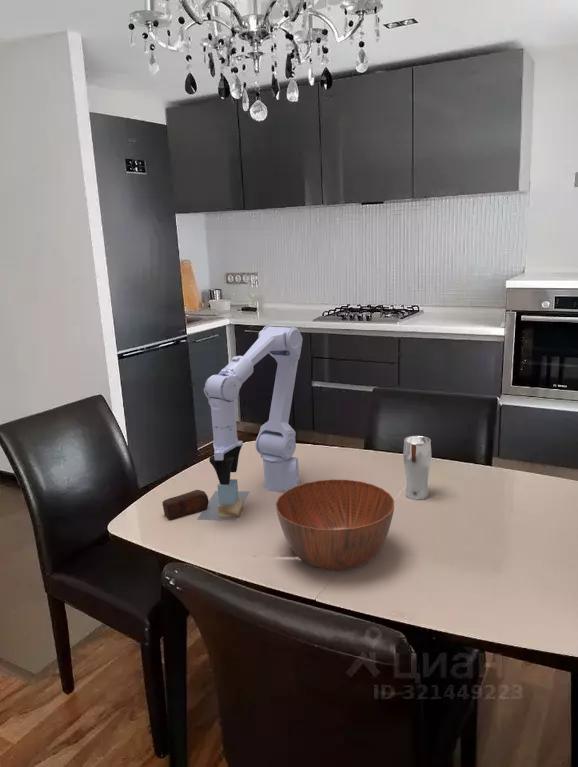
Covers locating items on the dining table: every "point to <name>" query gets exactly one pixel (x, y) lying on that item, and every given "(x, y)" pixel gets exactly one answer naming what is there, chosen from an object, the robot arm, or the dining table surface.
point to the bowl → (335, 522)
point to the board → (212, 508)
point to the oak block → (231, 509)
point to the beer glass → (417, 466)
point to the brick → (185, 504)
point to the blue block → (228, 493)
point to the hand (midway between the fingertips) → (228, 477)
